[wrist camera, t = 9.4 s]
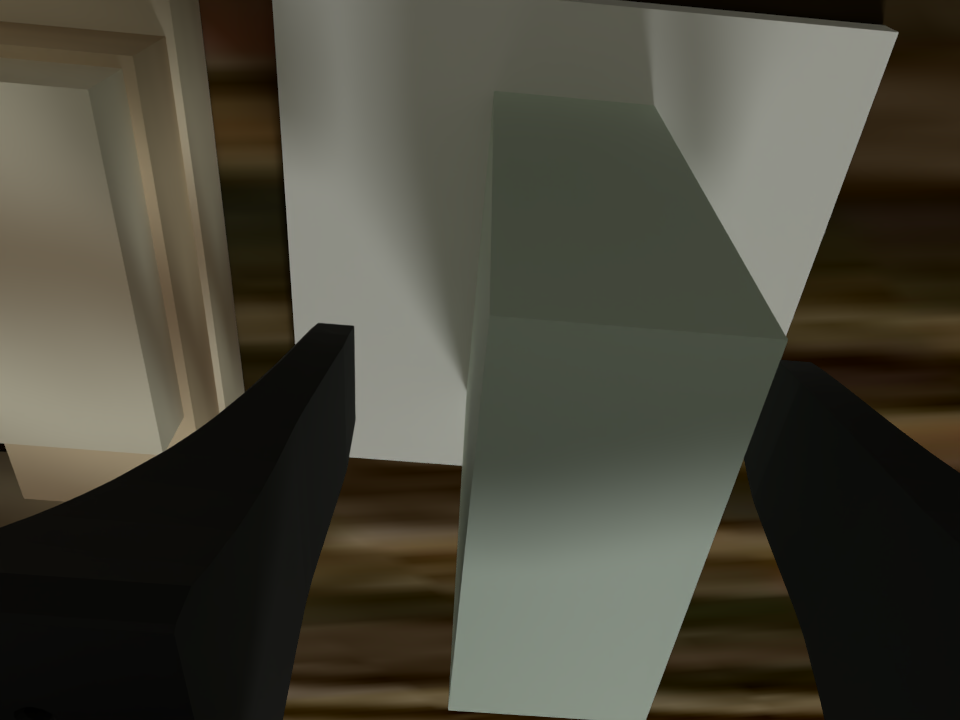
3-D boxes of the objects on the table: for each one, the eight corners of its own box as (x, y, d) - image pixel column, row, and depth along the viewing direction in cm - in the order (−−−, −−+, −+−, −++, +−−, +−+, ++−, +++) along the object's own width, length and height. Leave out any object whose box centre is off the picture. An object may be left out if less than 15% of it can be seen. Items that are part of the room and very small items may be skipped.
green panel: (591, 401, 18) (644, 723, 12) (466, 391, 18) (448, 710, 12) (654, 105, 14) (787, 340, 8) (494, 90, 14) (490, 314, 8)
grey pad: (724, 469, 20) (730, 485, 20) (307, 438, 20) (302, 453, 19) (884, 24, 14) (898, 32, 13) (278, -33, 14) (270, -27, 13)
